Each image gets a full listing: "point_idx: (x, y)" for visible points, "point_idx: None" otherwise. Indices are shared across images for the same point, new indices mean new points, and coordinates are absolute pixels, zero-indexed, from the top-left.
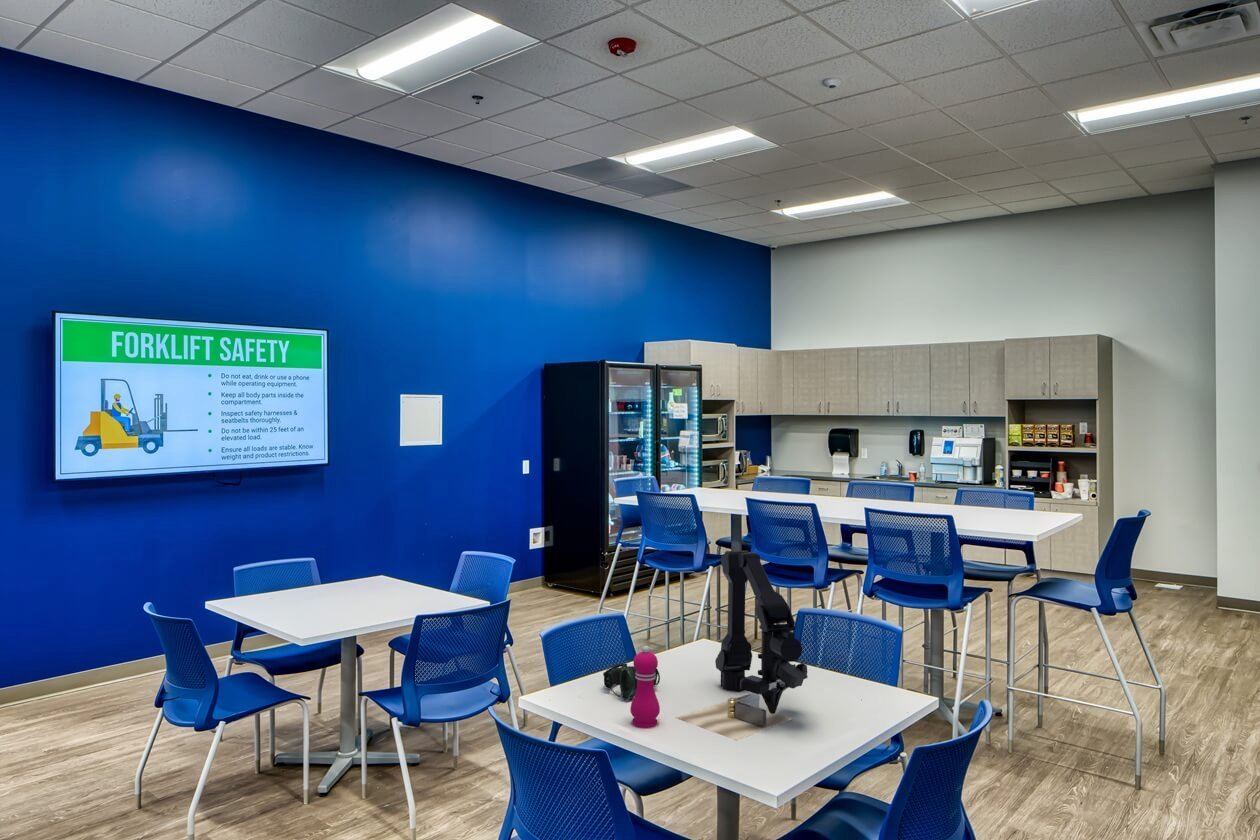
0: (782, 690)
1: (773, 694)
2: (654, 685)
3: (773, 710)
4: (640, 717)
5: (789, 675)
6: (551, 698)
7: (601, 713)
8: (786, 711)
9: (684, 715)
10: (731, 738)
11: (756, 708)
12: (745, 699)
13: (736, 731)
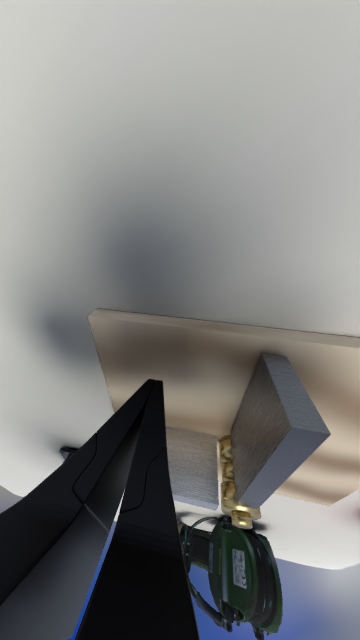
0: (11, 559)
1: (170, 562)
2: (192, 527)
3: (161, 393)
4: None
5: None
6: (309, 561)
7: (341, 542)
8: (52, 365)
9: (300, 497)
10: None
11: (284, 463)
12: (174, 483)
13: None
